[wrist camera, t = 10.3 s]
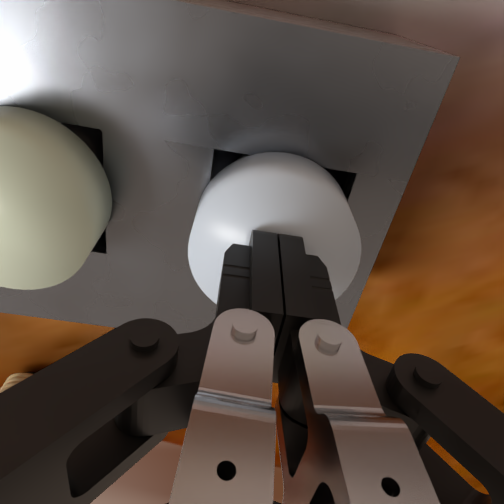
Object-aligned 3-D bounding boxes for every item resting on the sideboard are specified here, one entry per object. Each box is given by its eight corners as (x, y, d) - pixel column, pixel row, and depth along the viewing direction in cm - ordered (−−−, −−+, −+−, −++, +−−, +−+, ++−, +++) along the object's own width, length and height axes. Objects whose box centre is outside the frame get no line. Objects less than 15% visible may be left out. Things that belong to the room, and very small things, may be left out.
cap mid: (136, 99, 14) (85, 145, 10) (134, 223, 17) (94, 300, 13) (-15, 72, 14) (-132, 108, 10) (9, 204, 17) (-74, 276, 13)
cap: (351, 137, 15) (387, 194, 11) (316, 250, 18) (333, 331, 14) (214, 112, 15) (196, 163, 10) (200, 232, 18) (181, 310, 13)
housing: (397, 35, 16) (460, 57, 11) (318, 273, 22) (335, 356, 17) (-264, -99, 14) (-555, -146, 9) (-139, 206, 21) (-267, 277, 16)
